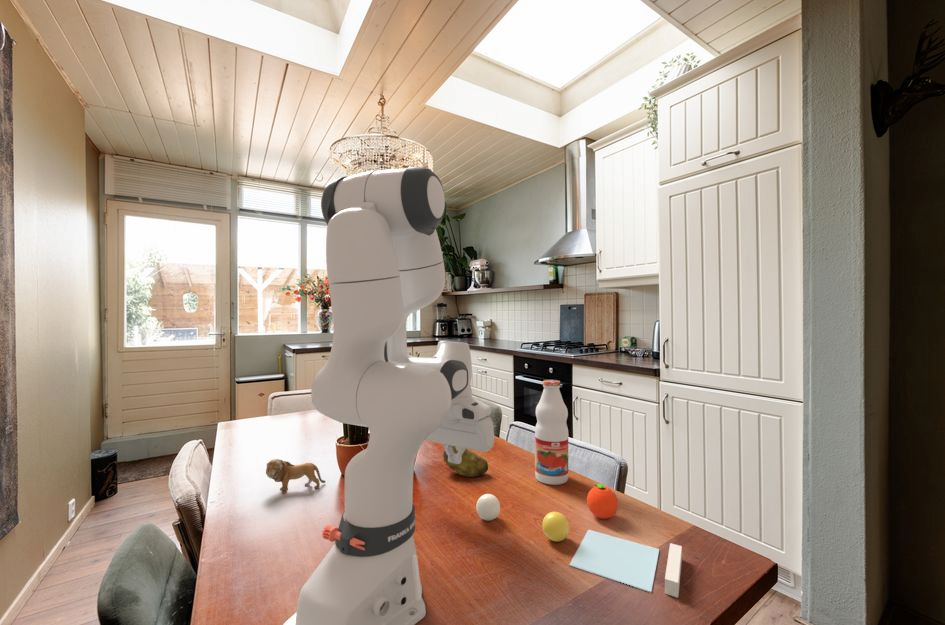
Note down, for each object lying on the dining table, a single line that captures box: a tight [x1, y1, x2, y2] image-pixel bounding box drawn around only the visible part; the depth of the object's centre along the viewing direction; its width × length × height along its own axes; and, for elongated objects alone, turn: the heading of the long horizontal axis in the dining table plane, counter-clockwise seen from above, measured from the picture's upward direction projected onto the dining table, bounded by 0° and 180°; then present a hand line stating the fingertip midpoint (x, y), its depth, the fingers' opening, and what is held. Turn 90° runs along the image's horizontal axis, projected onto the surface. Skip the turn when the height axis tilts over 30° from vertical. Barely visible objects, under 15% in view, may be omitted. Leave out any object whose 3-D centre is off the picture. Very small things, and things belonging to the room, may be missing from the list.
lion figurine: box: [265, 458, 326, 495], centre depth 105 cm, size 15×5×9 cm, turn 119°
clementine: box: [586, 483, 619, 520], centre depth 92 cm, size 8×7×7 cm
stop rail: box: [664, 542, 683, 599], centre depth 71 cm, size 12×2×2 cm, turn 149°
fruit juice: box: [534, 379, 569, 486], centre depth 112 cm, size 9×9×28 cm
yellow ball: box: [541, 511, 570, 542], centre depth 82 cm, size 6×6×6 cm
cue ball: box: [475, 493, 501, 522], centre depth 90 cm, size 6×6×6 cm
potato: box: [442, 446, 489, 478], centre depth 115 cm, size 8×13×8 cm, turn 61°
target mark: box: [568, 529, 660, 593], centre depth 76 cm, size 14×14×1 cm
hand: (454, 462), depth 95 cm, fingers closed
